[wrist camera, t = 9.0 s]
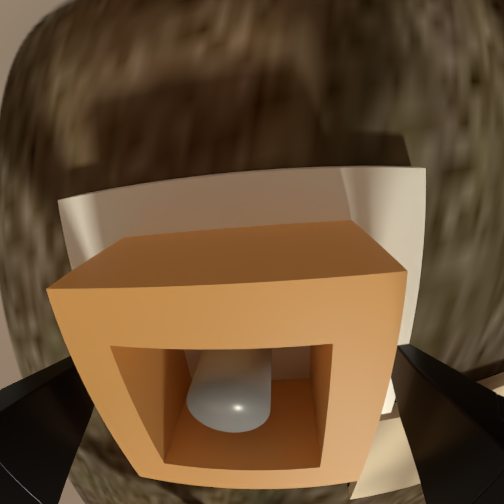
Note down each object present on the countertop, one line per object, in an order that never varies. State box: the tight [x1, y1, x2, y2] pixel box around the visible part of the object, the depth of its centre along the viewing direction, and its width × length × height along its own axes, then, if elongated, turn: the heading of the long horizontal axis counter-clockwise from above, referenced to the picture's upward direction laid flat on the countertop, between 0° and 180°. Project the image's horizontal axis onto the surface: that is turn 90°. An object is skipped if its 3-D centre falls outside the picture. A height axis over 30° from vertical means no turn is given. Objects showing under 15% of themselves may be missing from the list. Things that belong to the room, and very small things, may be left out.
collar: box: [46, 220, 408, 489], centre depth 8 cm, size 7×7×4 cm
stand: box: [348, 372, 504, 499], centre depth 11 cm, size 9×9×5 cm
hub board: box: [58, 166, 426, 433], centre depth 9 cm, size 12×10×4 cm
